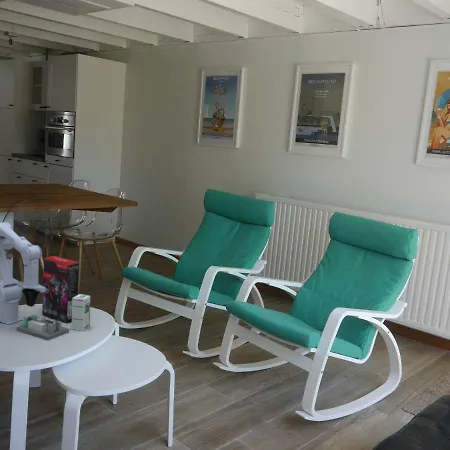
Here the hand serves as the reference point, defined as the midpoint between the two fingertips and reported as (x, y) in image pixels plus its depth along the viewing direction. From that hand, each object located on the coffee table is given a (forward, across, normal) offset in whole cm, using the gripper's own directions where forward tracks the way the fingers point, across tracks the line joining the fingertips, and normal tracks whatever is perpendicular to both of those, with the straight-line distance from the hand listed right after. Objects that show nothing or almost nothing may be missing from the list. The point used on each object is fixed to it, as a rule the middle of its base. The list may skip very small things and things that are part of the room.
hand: (30, 305), depth 222 cm
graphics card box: (+11, -2, +18) cm, 21 cm away
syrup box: (+11, +15, +14) cm, 23 cm away
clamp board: (+10, +6, +2) cm, 12 cm away
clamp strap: (+7, +6, +1) cm, 9 cm away
